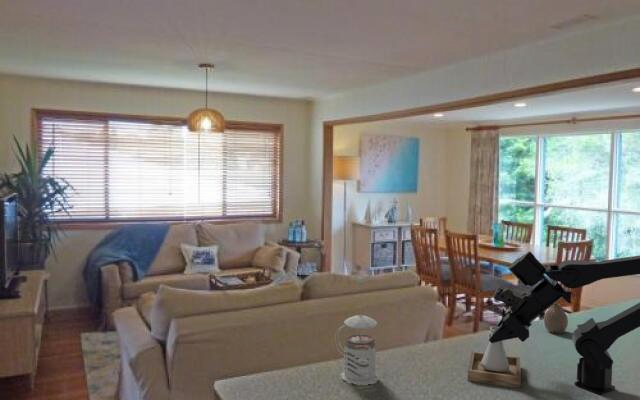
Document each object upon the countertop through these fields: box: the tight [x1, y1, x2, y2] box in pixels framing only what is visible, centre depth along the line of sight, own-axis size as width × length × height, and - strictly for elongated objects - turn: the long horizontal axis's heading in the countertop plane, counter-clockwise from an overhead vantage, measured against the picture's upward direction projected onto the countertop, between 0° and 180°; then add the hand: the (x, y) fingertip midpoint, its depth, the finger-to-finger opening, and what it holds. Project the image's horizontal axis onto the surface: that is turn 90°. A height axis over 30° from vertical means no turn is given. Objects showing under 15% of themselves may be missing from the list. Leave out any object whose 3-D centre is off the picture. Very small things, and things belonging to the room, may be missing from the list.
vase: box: [543, 303, 569, 335], centre depth 162 cm, size 7×7×9 cm
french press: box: [334, 276, 380, 386], centre depth 125 cm, size 10×12×25 cm
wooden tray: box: [467, 350, 522, 389], centre depth 129 cm, size 12×14×2 cm
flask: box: [480, 325, 510, 372], centre depth 128 cm, size 7×7×10 cm
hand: (490, 339), depth 129 cm, fingers closed on flask, 3 cm apart
